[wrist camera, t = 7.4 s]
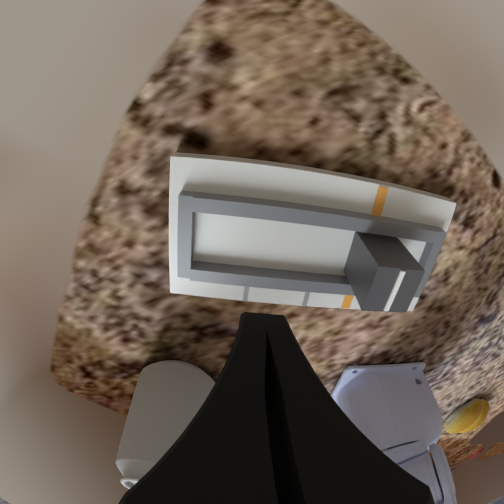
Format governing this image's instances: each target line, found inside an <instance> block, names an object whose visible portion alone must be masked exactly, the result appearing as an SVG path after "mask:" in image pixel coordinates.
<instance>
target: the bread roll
mask: <svg viewBox="0 0 504 504" xmlns="http://www.w3.org/2000/svg"><path fill="white" fill-rule="evenodd" d="M488 410H489V403H488V402H487V401H486V400H484V399H478V398H475V399H473V400H471V401H469V402H467V403H465V404H464V405H462V406H461V407H459V408H457V409H456V410H455V411H454V412H452V413H451V414H450V415H449V416H448V418H447V419H446V421H445V423H444V426H445V430H446V431H447V432H448V433H450V434H453V433H465V432H469V431H472V430H474V429H475V428H477V427H478V426H479V425H481V423H482V422H483V421H484V419H485V418H486V416H487V413H488Z"/></svg>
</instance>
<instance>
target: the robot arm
mask: <svg viewBox="0 0 504 504" xmlns="http://www.w3.org/2000/svg"><path fill="white" fill-rule="evenodd" d="M425 367H426V364H425V363H424V362H417V363H404V364H388V365H364V366H348V367H346V368H345V369H344V371H343V373H342V375H341V377H340V379H339V381H338V382H337V384H336V386H335V388H334V390H333V391H332V393H331V395H330V394H329V392H328V391H327V389H326V388H325V387H324V385H323V384H322V382H321V381H320V379H319V378H318V376H317V375H316V373H315V372H314V370H313V368H312V367H311V365H310V363H309V362H308V360H307V358H306V357H305V355H304V353H303V351H302V350H301V348H300V346H299V344H298V342H297V340H296V338H295V336H294V334H293V332H292V330H291V328H290V326H289V324H288V322H287V320H286V318H285V317H284V315H273V314H261V313H249V312H244V313H242V314H241V315H240V323H239V329H238V332H237V336H236V339H235V342H234V344H233V347H232V349H231V352H230V354H229V356H228V359H227V361H226V363H225V365H224V367H223V369H222V371H221V373H220V375H219V377H218V379H217V381H216V383H215V385H214V386H213V388H212V390H211V391H210V393H209V395H208V396H207V398H206V400H205V401H204V403H203V404H202V406H201V408H200V409H199V411H198V412H197V414H196V415H195V416H194V418H193V419H192V420H191V422H190V423H189V425H188V426H187V427H186V429H185V430H184V431H183V433H182V434H181V435H180V437H179V438H178V439H177V440H176V442H175V443H174V444H173V445H172V446H171V447H170V448H169V450H168V451H167V452H166V453H165V454H164V455H163V456H162V458H161V459H160V460H159V461H158V462H157V463H156V464H155V465H154V466H153V467H152V468H151V469H150V470H149V471H148V472H147V473H146V474H145V475H144V476H143V477H142V478H141V479H140V480H139V481H138V482H137V483H136V484H135V485H134V486H132V487H131V488H130V489H129V490H128V491H127V492H126V493H125V494H124V496H123V497H122V499H121V500H120V502H119V504H457V501H456V497H455V486H454V482H453V478H452V475H451V471H450V468H449V465H448V462H447V459H446V456H445V454H444V451H443V449H442V447H441V446H440V445H436V443H437V441H438V440H439V438H440V435H441V431H442V416H441V412H440V409H439V407H438V404H437V402H436V400H435V397H434V395H433V393H432V390H431V388H430V386H429V384H428V382H427V379H426V377H425V375H424V373H423V370H424V368H425ZM429 449H430V452H431V458H432V461H433V464H434V465H433V464H432V461H431V458H430V454H429V451H428V450H429ZM439 486H440V488H441V491H440V488H439ZM441 492H442V495H441ZM0 504H9V503H8V502H6V501H5V500H3V499H2V498H0ZM488 504H504V495H503V496H501V497H500V498H497V499H495V500H494V501H492V502H490V503H488Z"/></svg>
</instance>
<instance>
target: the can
mask: <svg viewBox="0 0 504 504" xmlns="http://www.w3.org/2000/svg"><path fill="white" fill-rule="evenodd" d="M214 385H215V382H214V380H213V379H212V378H211V377H210V376H209V375H207V374H206V373H205V372H204V371H203V370H201V369H200V368H198V367H197V366H195V365H192V364H190V363H187V362H183V361H178V360H164V361H160V362H157V363H153V364H149V365H148V366H146V367H145V368H143V370H142V371H141V373H140V376H139V379H138V382H137V386H136V389H135V392H134V396H133V399H132V402H131V406H130V409H129V413H128V417H127V420H126V424H125V427H124V431H123V435H122V439H121V443H120V447H119V451H118V455H117V459H116V465H117V467H118V469H119V470H120V472H121V473H122V475H123V478H121V479H120V482H121V483H122V485H124V486H125V487H127V488H128V489H130V488H131V487H132V486H134V485H135V484H136V483H137V482H138V481H139V480H140V479H141V478H142V477H143V476H144V475H145V474H146V473H147V472H148V471H149V470H150V469H151V468H152V467H153V466H154V465H155V464H156V463H157V462H158V461H159V460H160V459H161V458H162V456H163V455H164V454H165V453H166V452H167V451H168V450H169V448H170V447H171V446H172V445H173V444H174V443H175V442H176V440H177V439H178V438H179V437H180V435H181V434H182V433H183V431H184V430H185V429H186V427H187V426H188V425H189V423H190V422H191V420H192V419H193V418H194V416H195V415H196V414H197V412H198V411H199V409H200V408H201V406H202V404H203V403H204V401H205V400H206V398H207V396H208V395H209V393H210V391H211V390H212V388H213V386H214Z"/></svg>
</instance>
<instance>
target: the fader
mask: <svg viewBox="0 0 504 504" xmlns="http://www.w3.org/2000/svg"><path fill="white" fill-rule="evenodd" d="M344 273H345V275H346V277H347V279H348V281H349V283H350V286H351V288H352V290H353V292H354V294H355V297H356V299H357V301H358V303H359V306H360V308H361V310H362V311H387V312H407V310H408V308H409V305H410V303H411V301H412V299H413V297H414V295H415V293H416V291H417V289H418V286H419V284H420V282H421V280H422V277H423V275H424V273H425V270H424V269H423V268H422V267H421V265H420V264H419V263H418V262H417V260H416V259H415V258H414V257H413V256H412V254H411V253H410V252H409V251H408V250H407V248H406V247H405V246H404V245H403V244H402V243H401V241H400V240H399V239H398V238H397V237H391V236H384V235H378V234H371V233H364V232H357V231H355V234H354V237H353V241H352V244H351V248H350V251H349V254H348V257H347V261H346V264H345V267H344Z"/></svg>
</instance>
